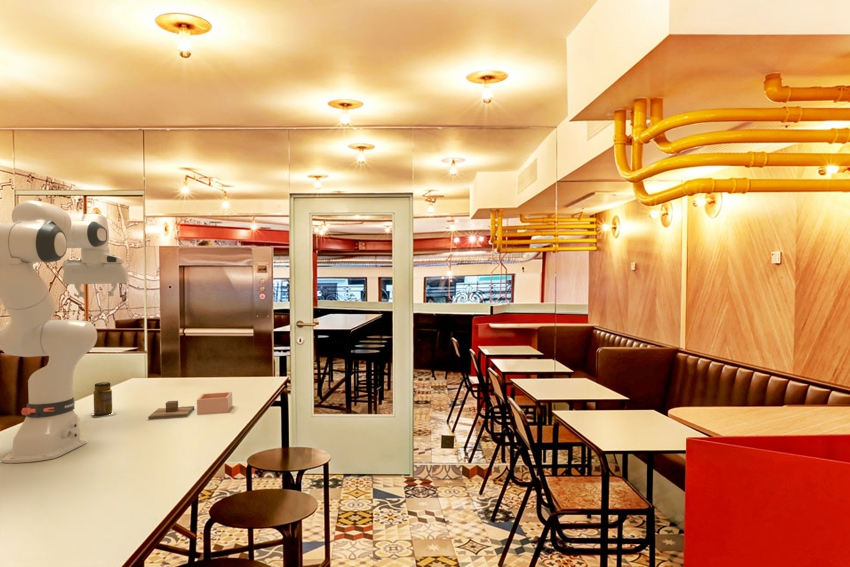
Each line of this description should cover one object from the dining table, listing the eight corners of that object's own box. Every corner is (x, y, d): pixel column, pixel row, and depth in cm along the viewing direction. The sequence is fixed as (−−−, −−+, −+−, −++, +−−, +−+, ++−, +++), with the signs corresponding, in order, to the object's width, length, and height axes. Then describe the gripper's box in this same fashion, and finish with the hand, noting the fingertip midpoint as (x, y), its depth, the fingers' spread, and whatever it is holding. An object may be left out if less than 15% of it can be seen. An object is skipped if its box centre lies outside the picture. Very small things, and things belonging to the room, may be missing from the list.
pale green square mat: (187, 418, 194) (187, 417, 194) (146, 421, 191) (146, 420, 191) (196, 409, 208) (195, 408, 208) (157, 412, 205) (157, 411, 205)
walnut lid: (186, 417, 194) (186, 404, 194) (148, 420, 191) (147, 407, 191) (194, 409, 207) (194, 397, 207) (158, 411, 204) (158, 399, 204)
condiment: (112, 411, 209) (111, 380, 209) (115, 414, 202) (115, 383, 202) (90, 414, 204) (89, 383, 204) (93, 418, 198) (92, 386, 198)
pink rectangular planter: (228, 413, 200) (227, 397, 200) (197, 415, 198) (196, 399, 198) (232, 406, 211) (232, 391, 211) (203, 409, 209) (202, 393, 209)
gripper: (59, 258, 187) (60, 297, 187) (124, 258, 194) (125, 295, 194) (65, 259, 193) (66, 297, 193) (128, 258, 200) (129, 295, 200)
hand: (96, 296), depth 194 cm, fingers open, 8 cm apart
